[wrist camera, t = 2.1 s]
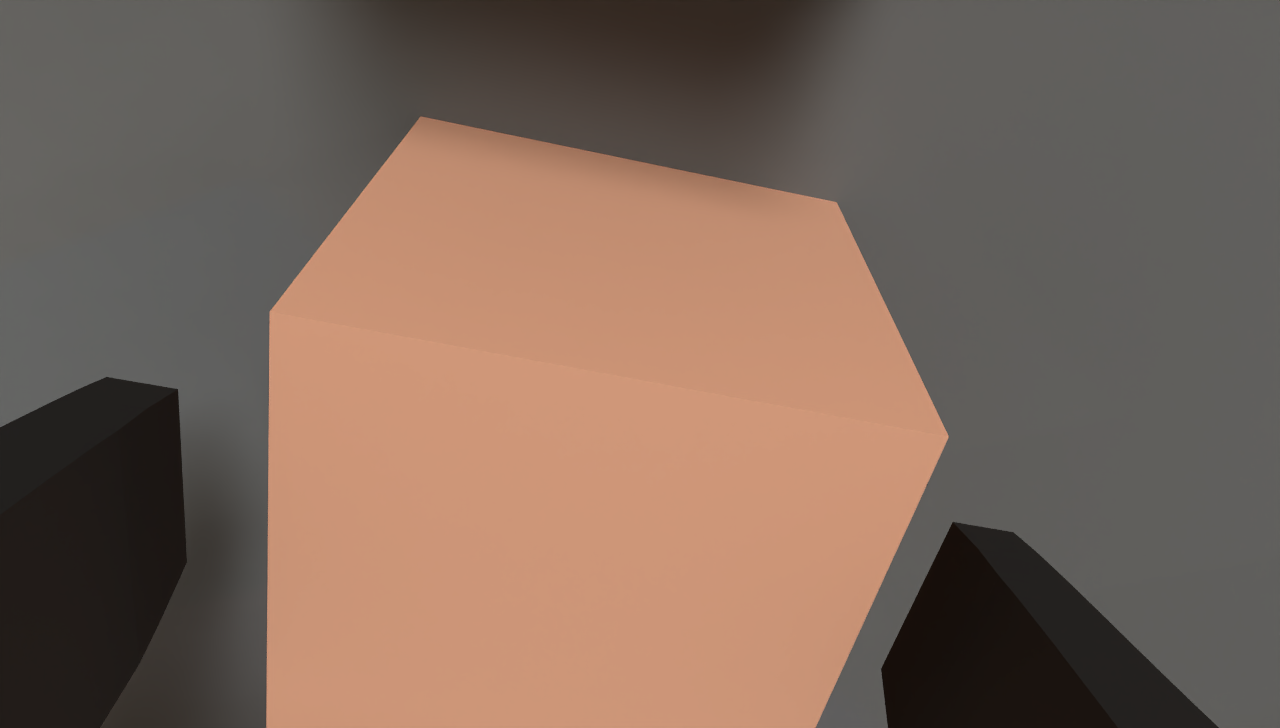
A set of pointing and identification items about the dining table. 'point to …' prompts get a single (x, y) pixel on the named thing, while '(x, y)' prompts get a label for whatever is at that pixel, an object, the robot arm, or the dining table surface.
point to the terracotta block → (579, 448)
